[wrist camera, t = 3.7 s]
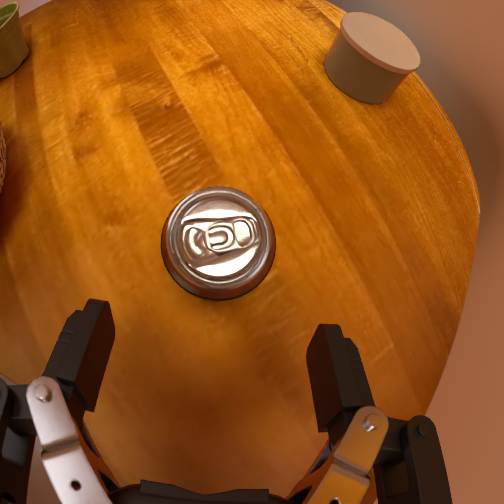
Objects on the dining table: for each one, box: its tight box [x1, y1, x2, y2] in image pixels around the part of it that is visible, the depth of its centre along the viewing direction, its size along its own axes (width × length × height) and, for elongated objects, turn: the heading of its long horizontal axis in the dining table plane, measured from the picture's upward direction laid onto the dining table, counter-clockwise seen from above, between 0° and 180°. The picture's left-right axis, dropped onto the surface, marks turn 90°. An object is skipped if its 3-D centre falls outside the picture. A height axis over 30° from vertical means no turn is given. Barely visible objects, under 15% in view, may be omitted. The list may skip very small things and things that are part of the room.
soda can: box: [161, 186, 276, 302], centre depth 18 cm, size 5×5×12 cm
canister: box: [324, 12, 420, 104], centre depth 26 cm, size 9×9×7 cm
